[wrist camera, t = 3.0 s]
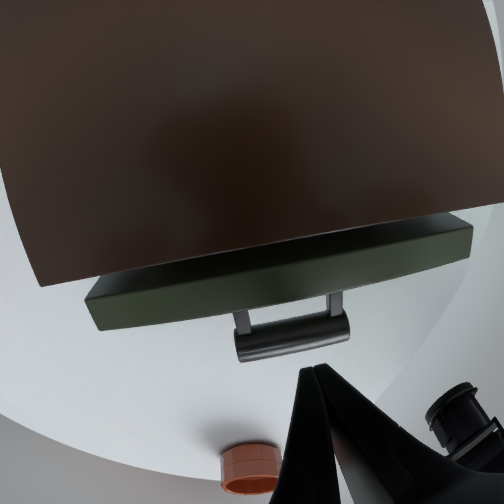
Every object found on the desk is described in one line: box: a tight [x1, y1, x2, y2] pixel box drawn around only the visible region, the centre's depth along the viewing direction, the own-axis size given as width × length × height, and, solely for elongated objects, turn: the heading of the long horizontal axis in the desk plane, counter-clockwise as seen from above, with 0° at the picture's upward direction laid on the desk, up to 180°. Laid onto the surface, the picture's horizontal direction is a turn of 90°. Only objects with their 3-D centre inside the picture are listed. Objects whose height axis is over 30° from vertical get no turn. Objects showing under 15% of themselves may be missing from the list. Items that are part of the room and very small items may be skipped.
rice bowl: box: [220, 443, 282, 495], centre depth 24 cm, size 6×6×4 cm
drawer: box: [84, 212, 474, 363], centre depth 10 cm, size 18×12×8 cm
